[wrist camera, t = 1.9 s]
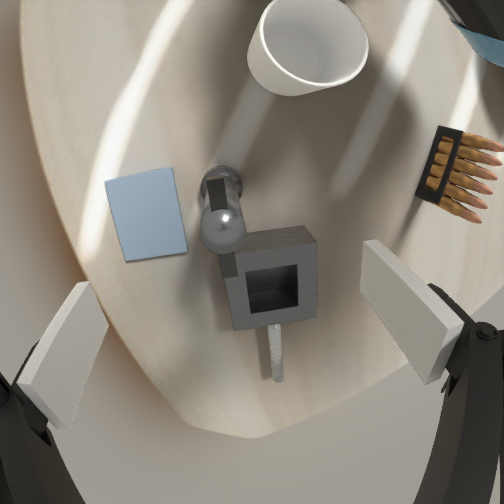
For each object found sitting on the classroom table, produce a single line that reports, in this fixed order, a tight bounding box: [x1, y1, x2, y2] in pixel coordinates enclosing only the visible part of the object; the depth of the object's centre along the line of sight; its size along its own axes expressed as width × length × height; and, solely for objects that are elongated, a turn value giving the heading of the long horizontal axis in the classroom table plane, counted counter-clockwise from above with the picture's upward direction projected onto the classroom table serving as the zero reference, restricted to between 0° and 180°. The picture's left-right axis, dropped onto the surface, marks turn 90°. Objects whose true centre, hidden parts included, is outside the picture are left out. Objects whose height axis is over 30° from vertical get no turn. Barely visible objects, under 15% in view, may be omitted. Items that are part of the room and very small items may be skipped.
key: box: [200, 166, 246, 278], centre depth 25 cm, size 7×4×14 cm, turn 6°
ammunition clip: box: [415, 126, 504, 223], centre depth 27 cm, size 11×2×12 cm, turn 163°
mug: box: [247, 0, 369, 96], centre depth 20 cm, size 9×12×11 cm
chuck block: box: [225, 226, 317, 382], centre depth 37 cm, size 23×10×5 cm, turn 6°
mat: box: [105, 167, 188, 261], centre depth 31 cm, size 10×8×1 cm
